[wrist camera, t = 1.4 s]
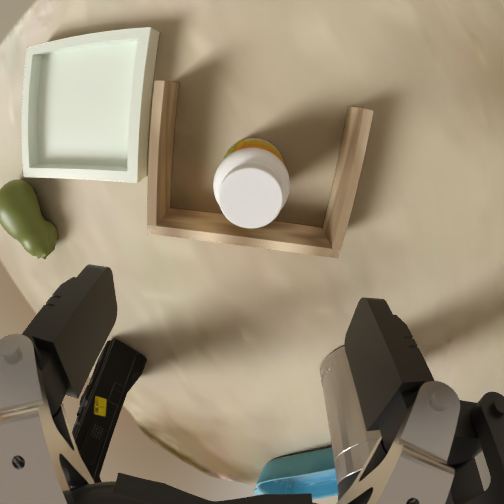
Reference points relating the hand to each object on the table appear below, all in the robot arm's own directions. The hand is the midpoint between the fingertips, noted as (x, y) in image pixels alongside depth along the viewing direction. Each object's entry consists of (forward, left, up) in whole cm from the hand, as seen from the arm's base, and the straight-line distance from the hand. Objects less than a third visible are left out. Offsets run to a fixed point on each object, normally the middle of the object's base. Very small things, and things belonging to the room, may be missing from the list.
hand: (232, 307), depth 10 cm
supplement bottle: (0, 0, -20) cm, 20 cm away
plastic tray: (+17, -5, -20) cm, 27 cm away
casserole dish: (-26, +58, -21) cm, 67 cm away
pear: (+25, +7, -20) cm, 33 cm away
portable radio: (+15, +28, -20) cm, 37 cm away
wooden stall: (0, -1, -20) cm, 20 cm away
